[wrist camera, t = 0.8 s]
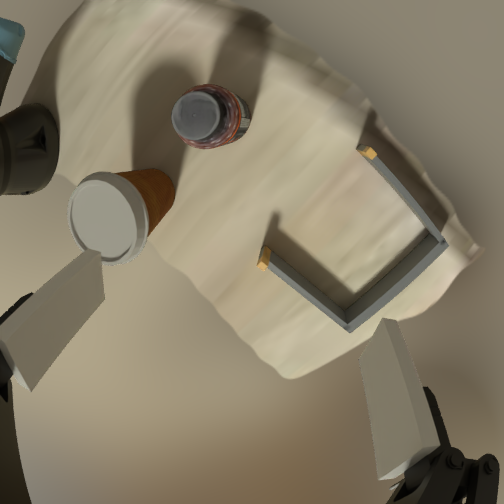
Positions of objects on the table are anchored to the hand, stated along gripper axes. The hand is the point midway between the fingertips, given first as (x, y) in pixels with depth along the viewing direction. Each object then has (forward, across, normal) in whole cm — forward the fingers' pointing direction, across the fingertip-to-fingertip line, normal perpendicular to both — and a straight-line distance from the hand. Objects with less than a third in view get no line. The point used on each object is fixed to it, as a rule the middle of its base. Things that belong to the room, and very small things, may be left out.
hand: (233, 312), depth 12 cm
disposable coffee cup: (+23, -14, -3) cm, 27 cm away
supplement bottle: (+23, -6, +7) cm, 25 cm away
